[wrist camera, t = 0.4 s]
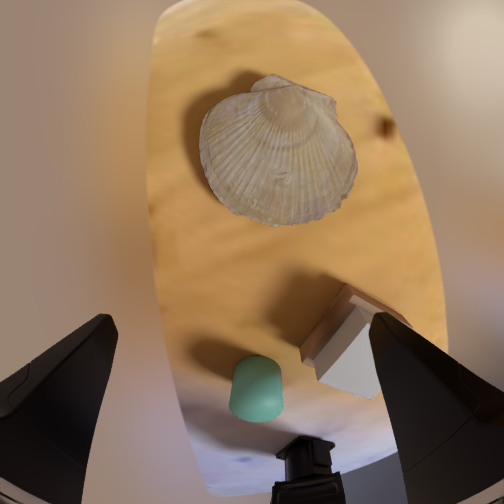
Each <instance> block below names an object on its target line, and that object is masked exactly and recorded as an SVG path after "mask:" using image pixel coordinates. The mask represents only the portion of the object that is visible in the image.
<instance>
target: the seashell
mask: <svg viewBox="0 0 504 504" xmlns="http://www.w3.org/2000/svg"><path fill="white" fill-rule="evenodd" d="M199 149H200V161H201V164H202V167H203V169H204V175H205V176H206V178H207V179H208V183H209V186H210V188H211V189H212V191H213V193H214V194H215V196H216V197H217V198H218V199H219V200H220V201H221V203H223V204H224V205H225V206H226V207H227V208H228V209H229V210H230V211H231V212H232V213H233V214H235V215H238V216H241V215H243V216H247V217H249V218H250V219H251V220H256V221H259V222H260V223H263V224H269V225H272V226H274V227H277V226H280V225H293V224H302V223H305V224H308V223H309V222H310V221H313V220H320V219H321V218H323V217H324V216H325V215H326V214H327V213H330V212H335V211H336V210H337V209H339V208H340V207H341V202H342V201H343V200H344V199H345V198H347V197H348V195H349V193H350V192H351V190H352V187H353V184H354V179H355V177H356V174H357V172H358V163H357V159H356V154H355V150H354V147H353V143H352V141H351V139H350V137H349V135H348V134H347V132H346V131H345V130H344V129H343V127H342V126H341V125H340V124H339V123H338V121H337V113H336V101H335V100H334V99H333V98H332V97H330V96H327V95H325V94H322V93H320V92H317V91H315V90H312V89H309V88H306V87H303V86H300V85H298V84H295V83H293V82H291V81H289V80H287V79H285V78H283V77H281V76H279V75H276V74H271V75H268V76H266V77H265V78H264V79H261V80H259V81H257V82H255V83H254V85H253V86H252V87H251V90H250V92H246V93H239V94H236V95H233V96H230V97H228V98H226V99H224V100H222V101H221V102H219V103H217V104H216V105H214V106H213V107H211V108H210V110H209V111H208V113H207V114H206V115H205V117H204V119H203V122H202V126H201V129H200V137H199Z"/></svg>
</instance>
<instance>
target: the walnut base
mask: <svg viewBox="0 0 504 504" xmlns="http://www.w3.org/2000/svg"><path fill="white" fill-rule="evenodd" d="M356 305H357V306H358V307H360V308H362V309H364V310H365V311H367V312H369V313H371V314H373V315H374V314H375V313H376V312H384V311H385V312H388V313H389V314H391V315H392V316H394V317H395V318H397V319H398V320H399V321H401V322H402V323H404V324H405V325H407V326H408V327H410V328H411V329H412V328H413V327H412V326H411V325H410V324H409V323H408V321H407V320H406V319H405V318H404V317H403V316H402V315H401V314H399V313H397V312H395V311H394V310H392V309H390V308H389V307H387V306H385V305H383V304H382V303H380V302H378V301H376V300H375V299H373V298H371V297H369V296H368V295H366V294H364V293H362V292H360V291H359V290H357V289H355V288H353V287H352V286H350V285H348V284H346V283H345V285H344V286H343V288H342V289H341V291H340V292H339V294H338V295H337V297H336V298H335V300H334V301H333V303H332V304H331V305H330V307H329V308H328V310H327V311H326V313H325V314H324V315H323V317H322V318H321V320H320V321H319V322H318V324H317V325H316V326H315V328H314V329H313V330H312V332H311V333H310V334H309V336H308V337H307V338H306V340H305V341H304V342H303V344H302V345H301V346H300V348H299V349H300V355H301V361H302V364H305V365H307V366H310V367H312V368H315V366H314V362H313V360H314V358H315V357H316V356H317V355H318V354H319V353H320V351H321V350H322V349H323V348H324V347H325V345H326V344H327V343H328V342H329V340H330V339H331V338H332V337H333V335H334V334H335V333H336V332H337V330H338V329H339V328H340V327H341V325H342V324H343V323H344V321H345V320H346V319H347V317H348V316H349V315H350V313H351V312H352V311H353V309H354V308H355V307H356Z"/></svg>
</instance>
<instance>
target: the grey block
mask: <svg viewBox="0 0 504 504" xmlns="http://www.w3.org/2000/svg"><path fill="white" fill-rule="evenodd" d="M373 316H374V315H373V314H371V313H369V312H367V311H365V310H364V309H362V308H360V307H358V306H357V305H356V307H355V308H354V309H353V311H352V312H351V313H350V315H349V316H348V317H347V319H346V320H345V321H344V323H343V324H342V325H341V327H340V328H339V329H338V330H337V332H336V333H335V334H334V335H333V337H332V338H331V339H330V340H329V342H328V343H327V344H326V345H325V347H324V348H323V349H322V350H321V351H320V353H319V354H318V355H317V356H316V357H315V358H314V360H313V362H314V366H315V371H316V375H317V380H318V382H321V383H324V384H326V385H329V386H332V387H334V388H337V389H340V390H343V391H346V392H348V393H351V394H354V395H357V396H360V397H363V398H366V399H370V400H371V399H372V398H373V397H374V396H375V395H376V394H377V393H378V392H379V391H380V390H381V387H380V383H379V380H378V377H377V373H376V369H375V364H374V359H373V354H372V349H371V345H370V340H369V328H370V325H371V322H372V319H373Z"/></svg>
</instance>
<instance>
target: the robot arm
mask: <svg viewBox="0 0 504 504" xmlns="http://www.w3.org/2000/svg"><path fill="white" fill-rule="evenodd" d="M117 340H118V331H117V329H116V326H115V324H114V321H113V319H112V316H111V315H109V314H98V315H97V316H95V317H94V318H93V319H91V320H90V321H88V322H87V323H85V324H84V325H82V326H81V327H79V328H78V329H76V330H75V331H73V332H72V333H71V334H69V335H68V336H66V337H65V338H63V339H62V340H61V341H59V342H58V343H56V344H55V345H53V346H52V347H51V348H49V349H48V350H46V351H45V352H43V353H42V354H41V355H39V356H38V357H36V358H35V359H34V360H32V361H31V363H28V364H27V365H26V366H24V367H22V368H21V369H20V370H18V371H17V372H15V373H14V374H12V375H11V376H9V377H8V378H6V379H5V380H3V381H2V382H0V504H81V501H82V494H83V486H84V481H85V475H86V468H87V463H88V458H89V453H90V449H91V444H92V439H93V435H94V431H95V427H96V423H97V418H98V415H99V411H100V407H101V404H102V400H103V397H104V393H105V390H106V386H107V383H108V380H109V376H110V372H111V368H112V363H113V359H114V353H115V349H116V345H117ZM369 340H370V345H371V349H372V354H373V359H374V364H375V369H376V373H377V377H378V380H379V383H380V387H381V390H382V393H383V397H384V400H385V403H386V407H387V410H388V414H389V418H390V421H391V425H392V429H393V433H394V437H395V441H396V445H397V449H398V454H399V458H400V462H401V467H402V472H403V477H404V483H405V488H406V494H407V500H408V504H504V392H503V391H501V390H499V389H498V388H496V387H495V386H493V385H491V384H489V383H488V382H486V381H485V380H483V379H482V378H480V377H478V376H477V375H475V374H474V373H473V372H471V371H470V370H468V369H467V368H466V367H464V366H463V365H462V364H460V363H459V364H458V362H457V361H456V360H454V359H453V358H452V357H450V356H449V355H448V354H446V353H445V352H443V351H442V350H441V349H439V348H438V347H437V346H435V345H434V344H432V343H431V342H429V341H428V340H427V339H425V338H424V337H422V336H421V335H420V334H418V333H417V332H415V331H414V330H412V329H411V328H410V327H408V326H407V325H405V324H404V323H402V322H401V321H399V320H398V319H397V318H395V317H394V316H392V315H391V314H389V313H388V312H385V311H384V312H376V313H375V314H374V316H373V319H372V322H371V325H370V328H369ZM334 447H335V443H330V442H325V441H320V440H316V439H311V438H307V437H302V436H301V437H298V438H297V439H295V440H294V441H293V442H292V443H291V444H289V445H288V446H287V447H286V448H284V449H283V450H282V451H280V452H279V453H278V454H276V458H277V459H282V460H285V481H282V482H279V481H277V482H275V485H274V486H273V487H272V498H271V502H270V504H346V500H345V494H344V489H343V484H342V480H341V476H340V471H339V472H336V473H332V470H331V465H332V461H331V456H330V450H332V449H333V448H334Z"/></svg>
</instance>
